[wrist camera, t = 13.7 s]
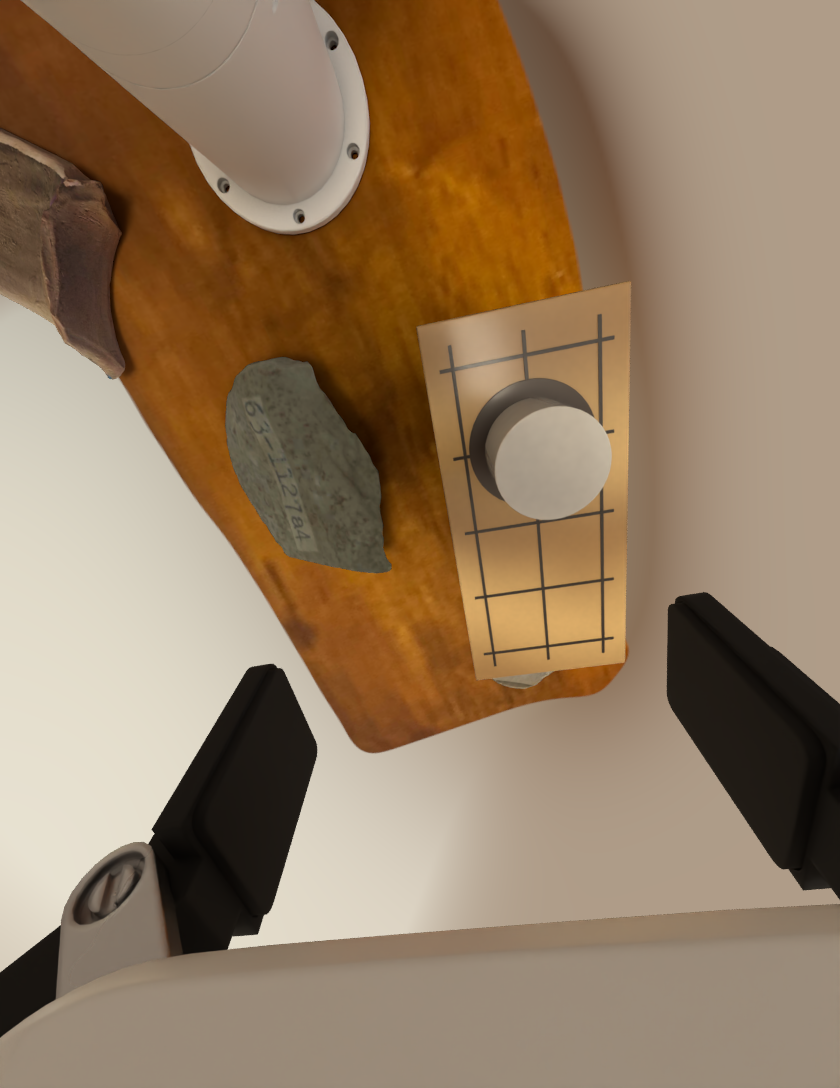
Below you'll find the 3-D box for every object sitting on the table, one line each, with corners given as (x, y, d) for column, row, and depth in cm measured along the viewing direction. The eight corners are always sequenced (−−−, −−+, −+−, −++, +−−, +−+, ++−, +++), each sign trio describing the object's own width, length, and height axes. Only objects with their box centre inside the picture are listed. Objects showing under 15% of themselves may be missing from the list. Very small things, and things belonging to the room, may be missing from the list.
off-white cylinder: (479, 407, 19) (488, 418, 16) (581, 387, 19) (612, 395, 16) (490, 501, 21) (500, 528, 18) (584, 485, 21) (612, 510, 17)
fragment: (-114, 283, 31) (-36, 297, 36) (79, 382, 31) (133, 383, 36) (-126, 60, 26) (-33, 110, 31) (104, 179, 26) (162, 210, 31)
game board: (424, 339, 34) (415, 326, 18) (535, 315, 33) (633, 279, 17) (460, 554, 42) (476, 682, 26) (550, 540, 42) (626, 664, 25)
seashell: (477, 623, 48) (489, 686, 49) (473, 634, 45) (487, 701, 46) (551, 615, 46) (562, 682, 47) (553, 627, 43) (564, 698, 44)
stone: (176, 391, 35) (319, 333, 29) (213, 382, 39) (348, 329, 32) (275, 585, 43) (406, 573, 36) (299, 563, 46) (421, 549, 40)
